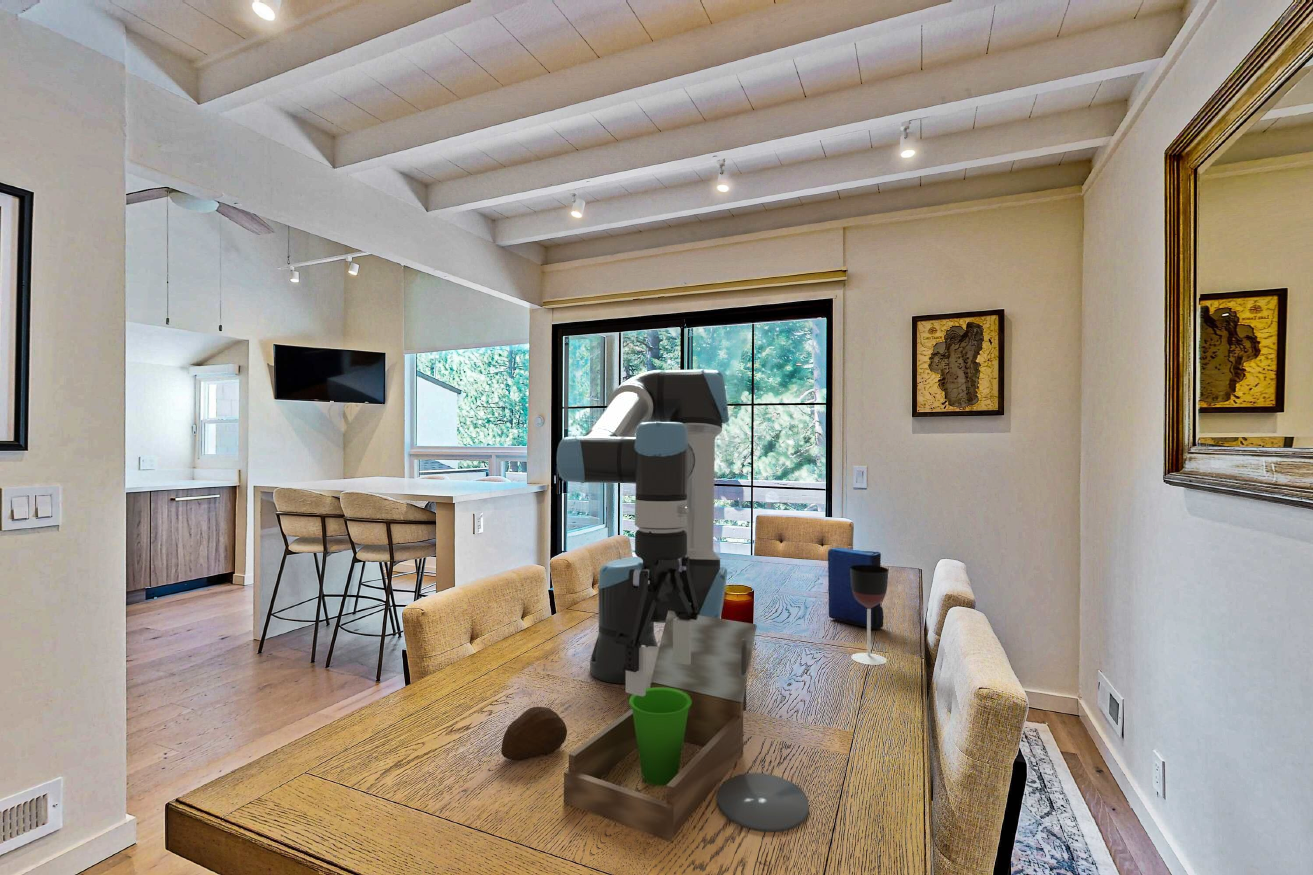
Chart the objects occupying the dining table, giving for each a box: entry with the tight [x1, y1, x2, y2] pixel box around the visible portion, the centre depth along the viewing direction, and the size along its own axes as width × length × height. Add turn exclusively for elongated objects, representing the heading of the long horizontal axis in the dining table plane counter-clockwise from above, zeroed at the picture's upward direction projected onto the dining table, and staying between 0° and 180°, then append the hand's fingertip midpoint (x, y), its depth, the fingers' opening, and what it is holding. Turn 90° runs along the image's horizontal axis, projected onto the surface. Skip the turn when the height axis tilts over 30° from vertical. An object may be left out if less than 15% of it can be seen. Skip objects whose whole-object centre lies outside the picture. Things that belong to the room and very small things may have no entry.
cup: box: [628, 687, 692, 787], centre depth 88 cm, size 9×9×11 cm
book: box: [827, 546, 884, 630], centre depth 162 cm, size 14×5×20 cm, turn 42°
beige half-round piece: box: [646, 646, 659, 689], centre depth 116 cm, size 9×9×12 cm
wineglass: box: [850, 565, 889, 666], centre depth 136 cm, size 8×9×20 cm
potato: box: [500, 706, 568, 762], centre depth 94 cm, size 7×10×7 cm
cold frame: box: [563, 611, 757, 842], centre depth 91 cm, size 16×30×19 cm, turn 151°
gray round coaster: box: [716, 772, 810, 833], centre depth 81 cm, size 12×12×1 cm
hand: (660, 677), depth 88 cm, fingers open, 13 cm apart
